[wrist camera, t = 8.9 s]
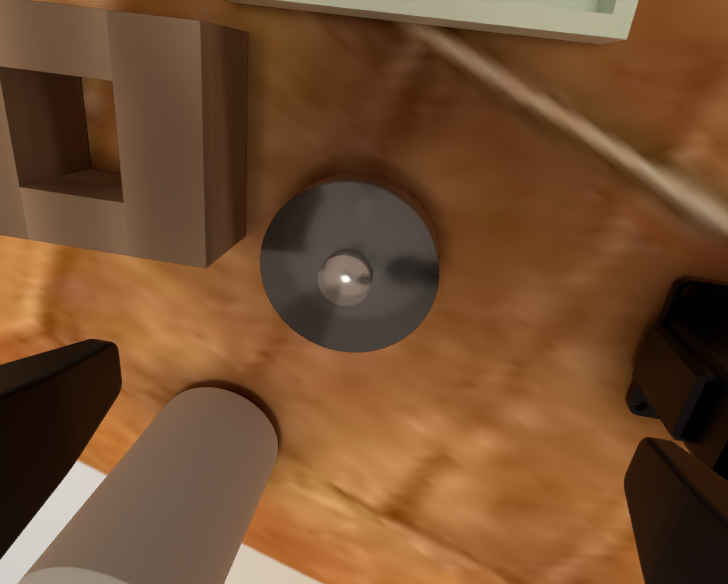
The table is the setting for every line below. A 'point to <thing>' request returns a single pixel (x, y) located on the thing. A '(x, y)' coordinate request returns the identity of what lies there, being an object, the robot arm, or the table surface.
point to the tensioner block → (123, 132)
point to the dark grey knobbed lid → (352, 262)
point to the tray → (490, 15)
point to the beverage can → (171, 499)
